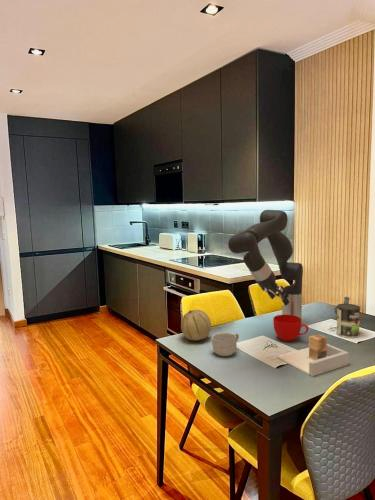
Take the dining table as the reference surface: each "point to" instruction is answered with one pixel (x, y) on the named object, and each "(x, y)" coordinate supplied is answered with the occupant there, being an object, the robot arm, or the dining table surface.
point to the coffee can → (348, 320)
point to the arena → (315, 367)
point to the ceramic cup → (288, 327)
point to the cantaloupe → (196, 325)
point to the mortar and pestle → (346, 301)
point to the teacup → (225, 343)
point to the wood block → (317, 347)
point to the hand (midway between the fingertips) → (280, 300)
